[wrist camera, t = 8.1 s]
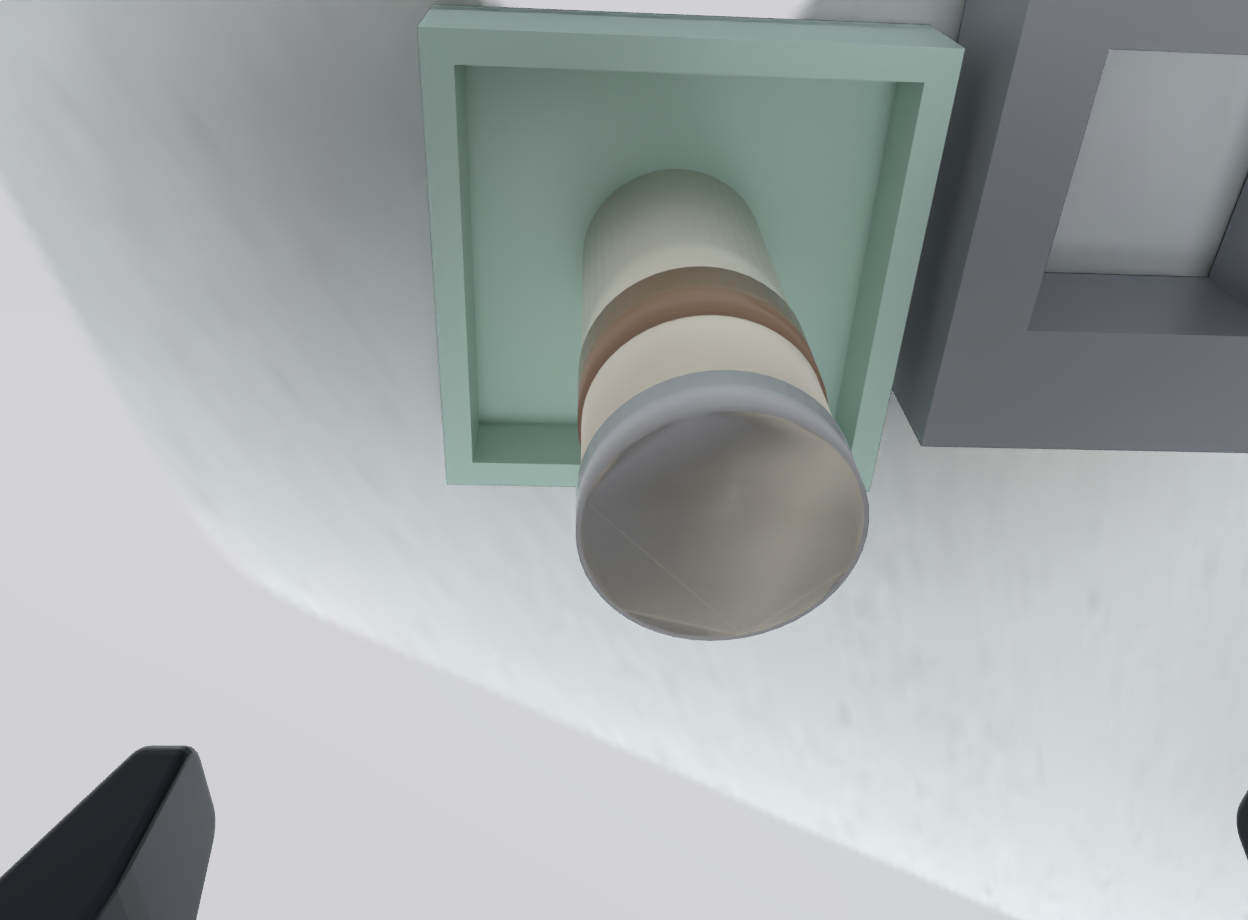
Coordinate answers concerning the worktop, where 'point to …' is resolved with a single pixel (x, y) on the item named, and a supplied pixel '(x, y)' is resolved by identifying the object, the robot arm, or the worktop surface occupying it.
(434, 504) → the worktop surface
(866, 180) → the parts tray
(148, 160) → the worktop surface
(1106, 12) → the fuse holder
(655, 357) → the fuse
